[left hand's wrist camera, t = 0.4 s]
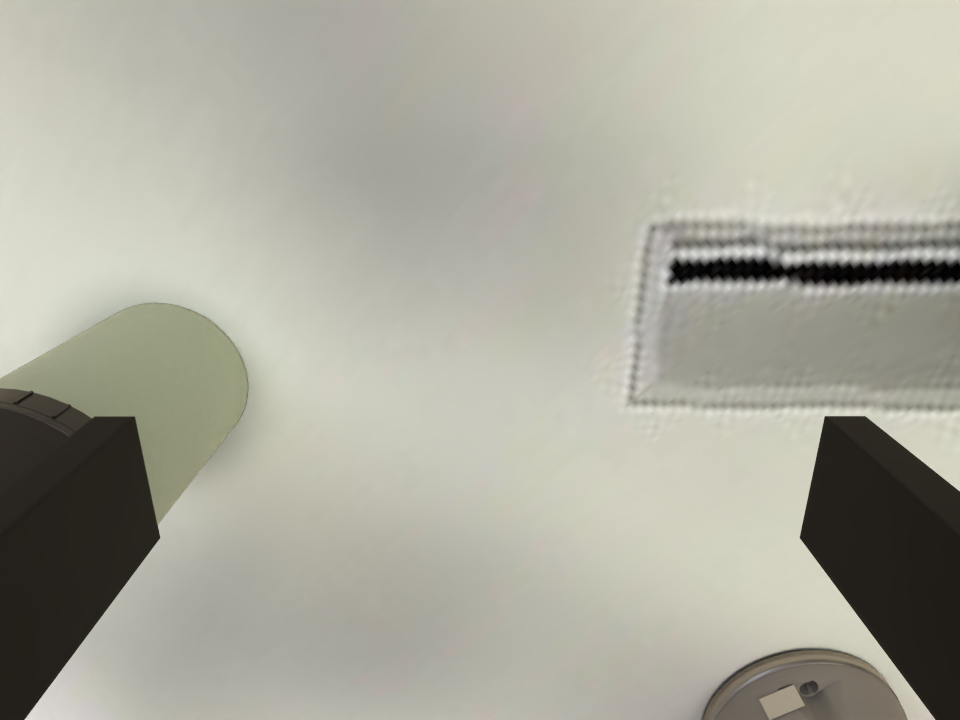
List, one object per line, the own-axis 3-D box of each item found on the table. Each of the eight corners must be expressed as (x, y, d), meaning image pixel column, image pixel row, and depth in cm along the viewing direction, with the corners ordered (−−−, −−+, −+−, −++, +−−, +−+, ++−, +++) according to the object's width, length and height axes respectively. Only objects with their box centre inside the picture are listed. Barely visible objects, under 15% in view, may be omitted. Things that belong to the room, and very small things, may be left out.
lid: (165, 420, 28) (146, 438, 26) (143, 618, 32) (125, 644, 30) (-104, 357, 27) (-139, 372, 25) (-93, 570, 31) (-124, 594, 29)
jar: (258, 325, 41) (141, 440, 27) (237, 463, 45) (123, 628, 30) (93, 284, 40) (-118, 380, 26) (84, 427, 44) (-107, 582, 29)
